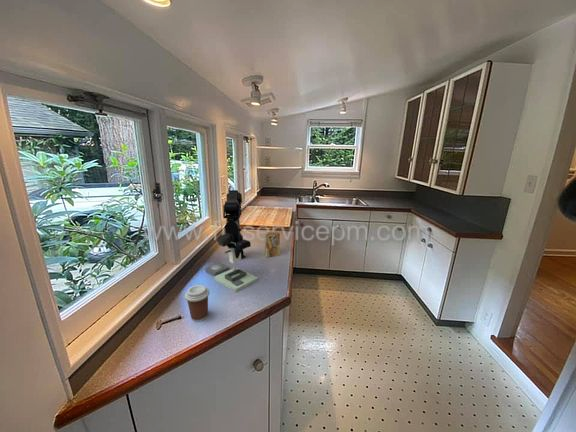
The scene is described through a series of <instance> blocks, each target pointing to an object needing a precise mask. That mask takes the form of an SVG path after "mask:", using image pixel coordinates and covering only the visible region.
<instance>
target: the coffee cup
mask: <svg viewBox="0 0 576 432" xmlns="http://www.w3.org/2000/svg"><path fill="white" fill-rule="evenodd" d="M209 295H210V288H208V287H207V286H206V285H204V284H197V285H195V284H194V285H193V286H191V287H189V288H188V289H187V290H186V292H185V294H184V299H185V300H186V302H187V304H188V305H187V306H188V309H189V314H190V318H191V321H193V322H201V321H204V320H206V319H207V318H208V316H209Z"/></svg>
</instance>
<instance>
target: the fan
mask: <svg viewBox="0 0 576 432" xmlns="http://www.w3.org/2000/svg"><path fill="white" fill-rule="evenodd" d="M204 268H205V273H207V274H209V275H210V276H212V277H214V276H217V275H219V274H221V273H224V272H226V271H228V270H230V266H228V265H226V264H224V263H222V262H217V263H214V264H212V265H211V264H210V266H206V267H204Z"/></svg>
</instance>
